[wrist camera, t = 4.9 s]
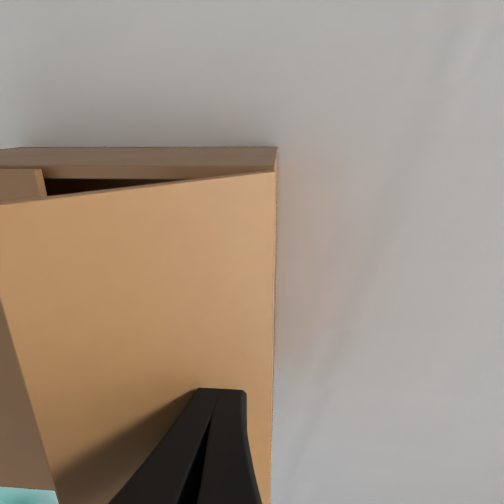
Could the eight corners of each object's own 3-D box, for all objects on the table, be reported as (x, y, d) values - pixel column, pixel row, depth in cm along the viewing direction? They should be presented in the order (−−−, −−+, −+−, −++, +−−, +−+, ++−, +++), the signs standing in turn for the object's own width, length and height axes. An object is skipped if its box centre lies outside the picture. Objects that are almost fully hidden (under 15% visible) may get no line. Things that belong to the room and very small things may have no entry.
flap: (268, 170, 9) (276, 171, 9) (265, 502, 14) (270, 508, 13) (-28, 204, 6) (-28, 207, 5) (99, 642, 10) (102, 654, 10)
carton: (278, 146, 17) (274, 169, 9) (274, 369, 21) (269, 508, 13) (21, 147, 18) (-177, 167, 10) (69, 359, 22) (-42, 484, 14)
